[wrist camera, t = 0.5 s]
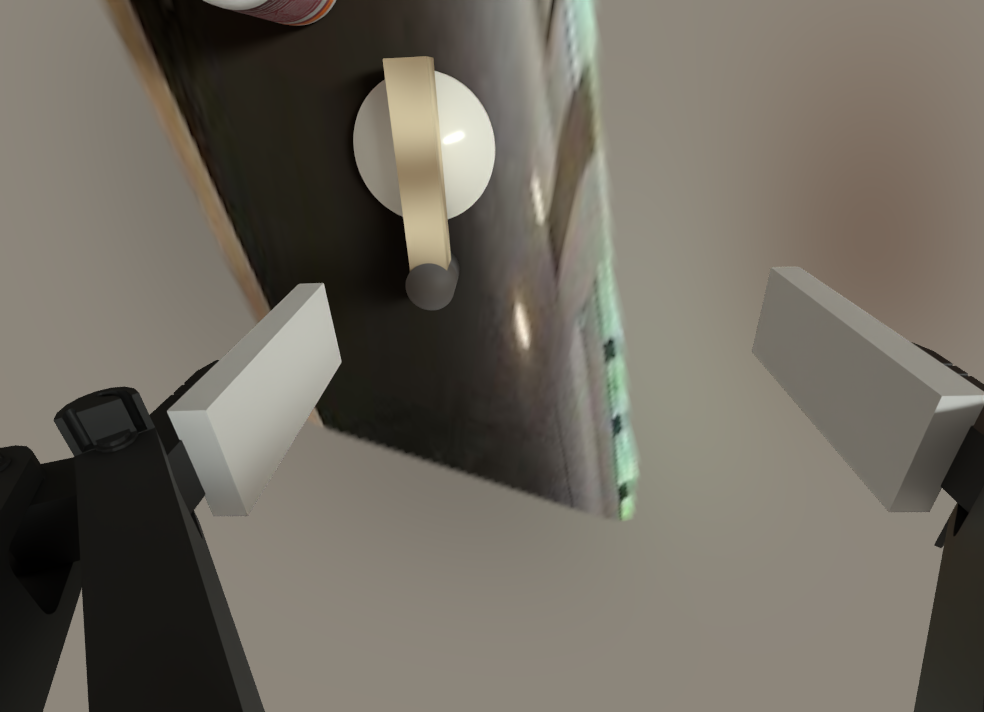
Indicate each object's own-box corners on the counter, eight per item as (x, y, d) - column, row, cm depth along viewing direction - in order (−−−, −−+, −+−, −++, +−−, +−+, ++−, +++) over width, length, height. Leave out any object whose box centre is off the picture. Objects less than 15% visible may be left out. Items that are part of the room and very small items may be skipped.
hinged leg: (461, 288, 37) (456, 309, 34) (418, 289, 37) (408, 310, 34) (443, 58, 30) (433, 55, 27) (390, 61, 30) (374, 59, 27)
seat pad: (345, 73, 31) (341, 73, 30) (492, 65, 30) (491, 65, 30) (369, 220, 35) (366, 224, 34) (498, 216, 35) (497, 219, 34)
